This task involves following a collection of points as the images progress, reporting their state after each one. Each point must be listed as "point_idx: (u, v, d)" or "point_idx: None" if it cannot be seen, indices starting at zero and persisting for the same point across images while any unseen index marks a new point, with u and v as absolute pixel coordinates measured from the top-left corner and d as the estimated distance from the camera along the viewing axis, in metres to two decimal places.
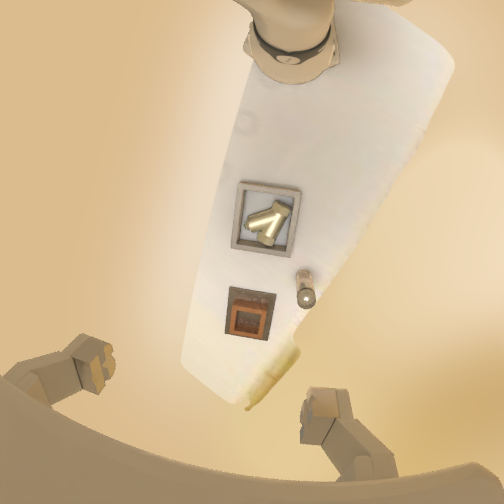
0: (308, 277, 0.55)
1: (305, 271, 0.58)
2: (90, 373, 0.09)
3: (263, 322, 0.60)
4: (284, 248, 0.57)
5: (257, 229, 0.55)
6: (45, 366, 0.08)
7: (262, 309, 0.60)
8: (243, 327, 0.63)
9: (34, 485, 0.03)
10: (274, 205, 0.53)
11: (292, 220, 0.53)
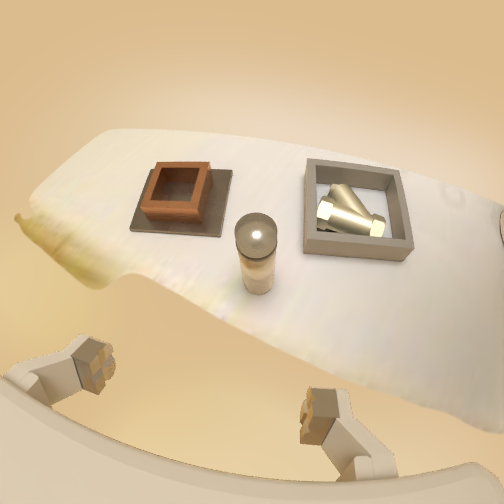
0: (273, 271, 0.28)
1: (273, 278, 0.31)
2: (90, 373, 0.09)
3: (173, 206, 0.32)
4: None
5: (337, 196, 0.33)
6: (45, 366, 0.08)
7: (199, 204, 0.33)
8: (161, 186, 0.36)
9: (34, 485, 0.03)
10: (380, 216, 0.32)
11: (371, 238, 0.30)
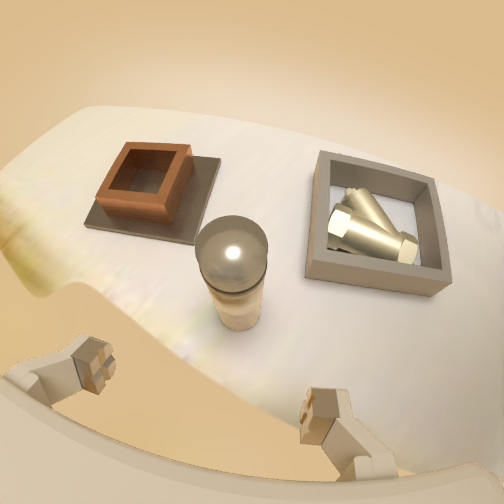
0: (260, 305, 0.19)
1: None
2: (90, 373, 0.09)
3: (135, 198, 0.23)
4: None
5: (356, 204, 0.24)
6: (45, 366, 0.08)
7: (168, 199, 0.24)
8: (128, 173, 0.27)
9: (34, 485, 0.03)
10: (410, 235, 0.23)
11: (400, 265, 0.21)
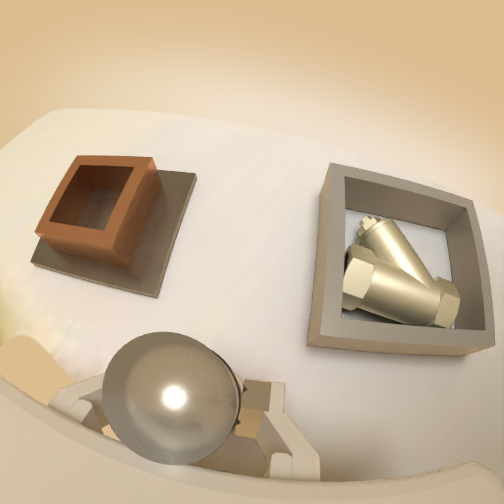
0: None
1: None
2: None
3: (77, 236, 0.16)
4: None
5: (378, 244, 0.17)
6: (97, 391, 0.08)
7: (119, 237, 0.17)
8: (79, 196, 0.20)
9: (34, 485, 0.03)
10: (448, 282, 0.16)
11: (438, 331, 0.13)
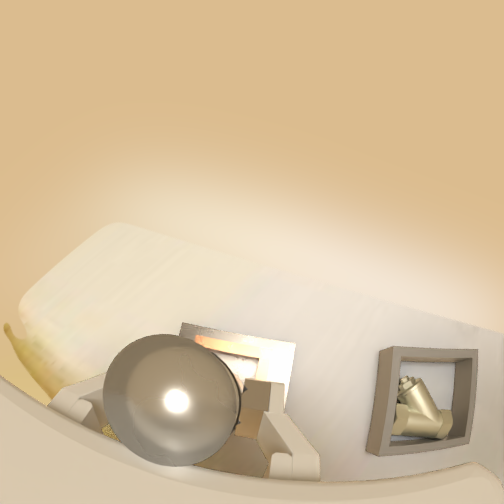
0: None
1: None
2: None
3: None
4: None
5: (411, 400, 0.23)
6: (97, 391, 0.08)
7: None
8: None
9: (34, 485, 0.03)
10: (447, 412, 0.22)
11: (436, 443, 0.20)
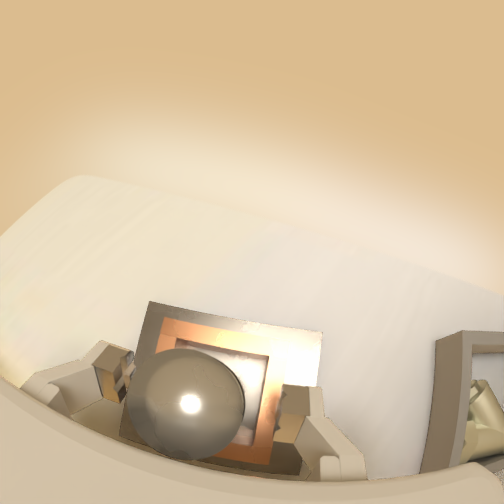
0: None
1: None
2: (112, 381, 0.09)
3: None
4: None
5: (478, 413, 0.13)
6: (66, 377, 0.08)
7: None
8: None
9: (34, 485, 0.03)
10: None
11: None
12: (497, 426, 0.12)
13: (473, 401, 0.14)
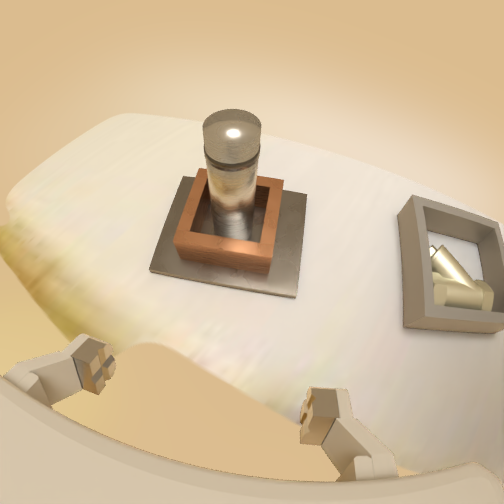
0: (252, 207, 0.21)
1: (252, 225, 0.24)
2: (90, 373, 0.09)
3: (231, 247, 0.20)
4: None
5: (441, 267, 0.21)
6: (46, 367, 0.08)
7: None
8: (203, 208, 0.24)
9: (34, 485, 0.03)
10: (482, 282, 0.21)
11: (484, 313, 0.18)
12: (463, 280, 0.20)
13: (433, 256, 0.22)
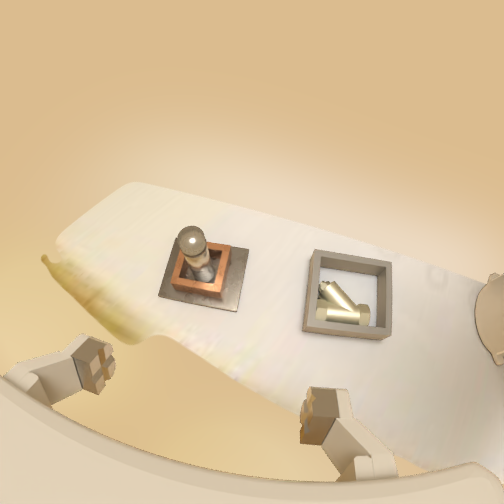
0: (210, 265, 0.40)
1: (213, 271, 0.43)
2: (90, 373, 0.09)
3: (199, 286, 0.39)
4: None
5: (328, 296, 0.40)
6: (46, 366, 0.08)
7: (221, 286, 0.40)
8: None
9: (34, 485, 0.03)
10: (364, 305, 0.39)
11: (357, 326, 0.37)
12: (344, 305, 0.39)
13: (323, 289, 0.40)
